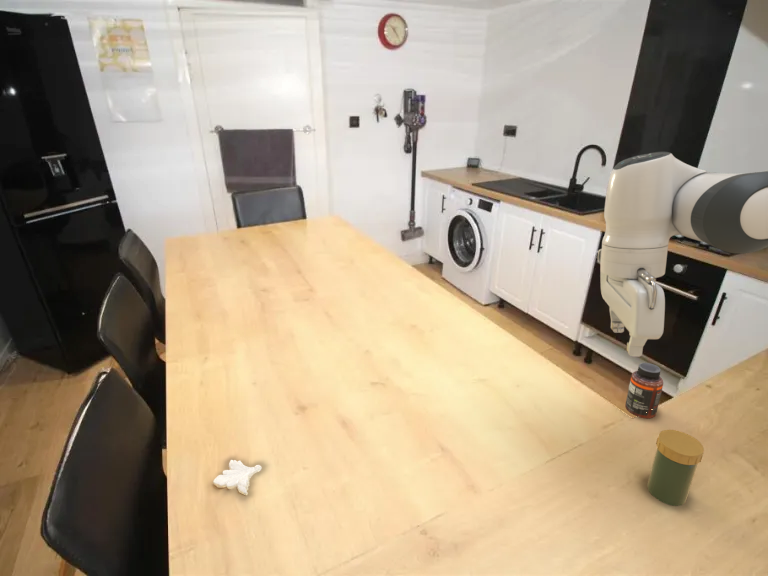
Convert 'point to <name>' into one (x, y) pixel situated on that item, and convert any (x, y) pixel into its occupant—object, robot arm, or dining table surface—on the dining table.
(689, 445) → the lid
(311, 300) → the dining table surface
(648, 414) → the supplement bottle
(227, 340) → the dining table surface
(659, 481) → the sauce jar
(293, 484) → the dining table surface
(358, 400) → the dining table surface
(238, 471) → the acanthus leaf ornament
